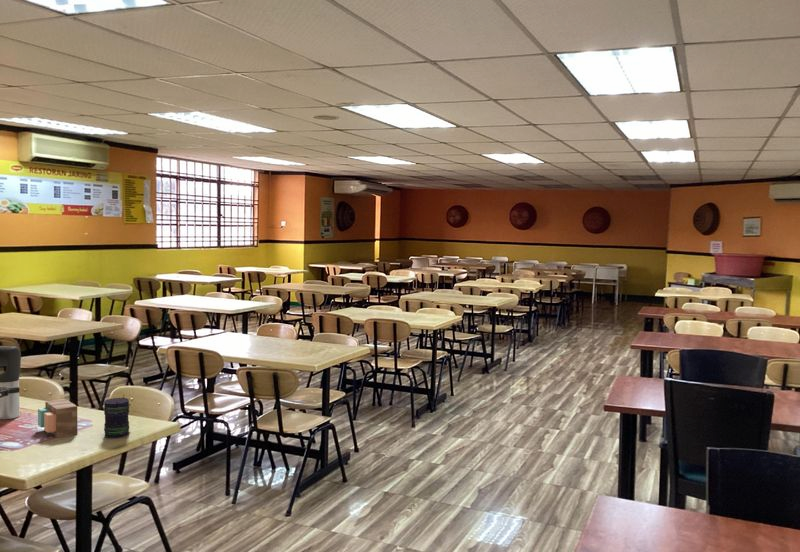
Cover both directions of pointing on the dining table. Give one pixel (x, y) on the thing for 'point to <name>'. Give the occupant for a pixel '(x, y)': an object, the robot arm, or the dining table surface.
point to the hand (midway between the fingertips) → (18, 389)
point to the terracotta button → (50, 422)
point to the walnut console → (64, 417)
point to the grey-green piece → (42, 415)
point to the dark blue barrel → (116, 418)
